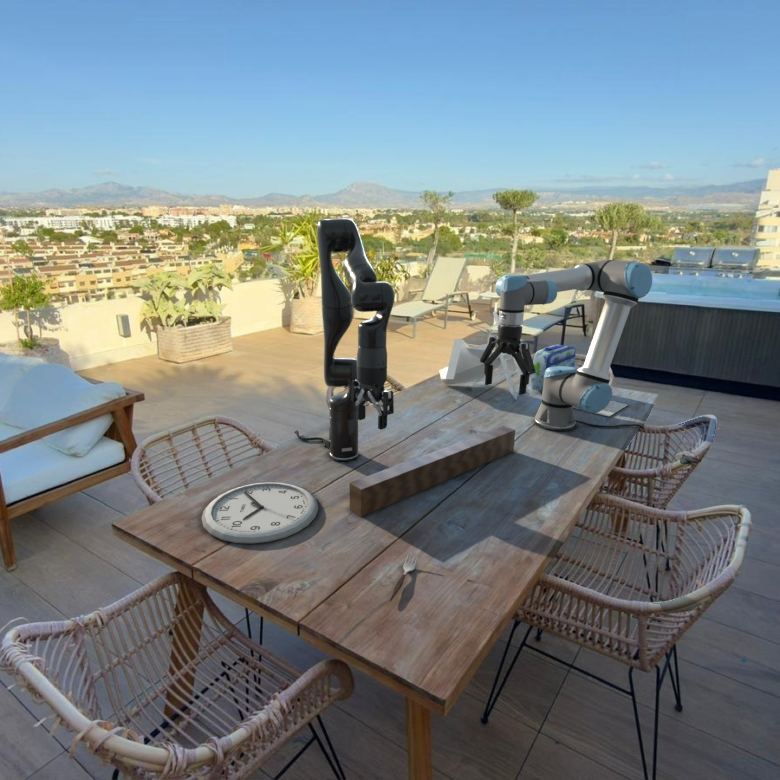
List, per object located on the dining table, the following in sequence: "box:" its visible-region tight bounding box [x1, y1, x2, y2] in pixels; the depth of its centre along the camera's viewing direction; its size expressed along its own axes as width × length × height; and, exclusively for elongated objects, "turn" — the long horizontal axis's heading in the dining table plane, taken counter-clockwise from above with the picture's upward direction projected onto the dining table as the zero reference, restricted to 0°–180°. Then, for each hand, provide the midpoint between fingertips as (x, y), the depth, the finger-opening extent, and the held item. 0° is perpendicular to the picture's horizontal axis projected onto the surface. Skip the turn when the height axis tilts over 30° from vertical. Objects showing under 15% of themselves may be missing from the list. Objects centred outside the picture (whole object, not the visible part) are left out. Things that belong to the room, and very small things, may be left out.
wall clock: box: [201, 481, 319, 544], centre depth 139 cm, size 30×2×30 cm
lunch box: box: [530, 344, 577, 392], centre depth 247 cm, size 26×11×21 cm, turn 134°
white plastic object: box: [438, 310, 531, 400], centre depth 245 cm, size 37×45×31 cm
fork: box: [389, 550, 419, 602], centre depth 113 cm, size 3×16×2 cm, turn 160°
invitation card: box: [573, 400, 629, 418], centre depth 226 cm, size 21×1×15 cm
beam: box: [349, 425, 516, 517], centre depth 159 cm, size 66×5×8 cm, turn 131°
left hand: (371, 423), depth 135 cm, fingers open, 8 cm apart
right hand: (504, 389), depth 171 cm, fingers open, 13 cm apart
